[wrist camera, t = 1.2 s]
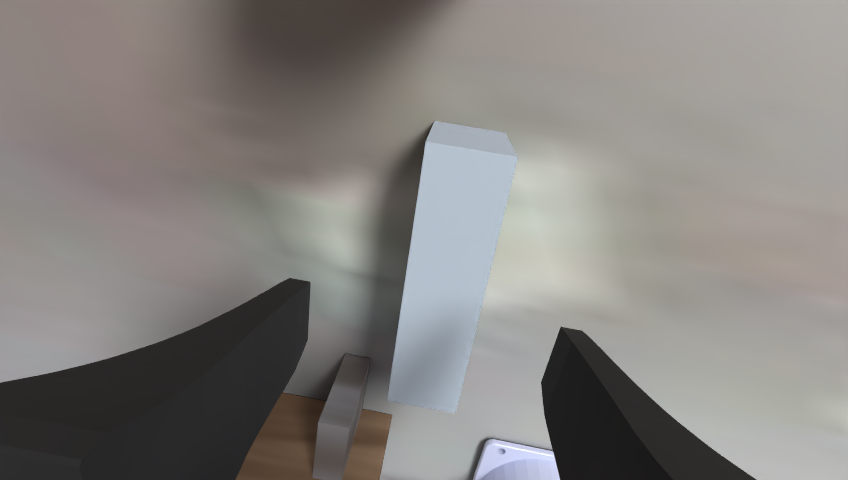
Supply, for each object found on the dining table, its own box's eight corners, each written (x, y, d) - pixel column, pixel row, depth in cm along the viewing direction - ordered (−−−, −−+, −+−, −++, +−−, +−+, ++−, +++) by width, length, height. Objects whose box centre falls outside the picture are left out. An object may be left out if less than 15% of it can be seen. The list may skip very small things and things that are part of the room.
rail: (505, 131, 19) (517, 156, 14) (457, 344, 24) (455, 413, 19) (435, 120, 19) (425, 141, 15) (401, 335, 24) (387, 400, 19)
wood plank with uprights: (201, 323, 25) (117, 409, 19) (402, 365, 25) (383, 464, 19) (204, 394, 27) (130, 490, 21) (388, 432, 27) (367, 539, 21)
